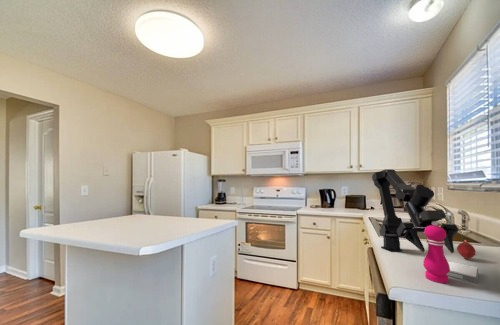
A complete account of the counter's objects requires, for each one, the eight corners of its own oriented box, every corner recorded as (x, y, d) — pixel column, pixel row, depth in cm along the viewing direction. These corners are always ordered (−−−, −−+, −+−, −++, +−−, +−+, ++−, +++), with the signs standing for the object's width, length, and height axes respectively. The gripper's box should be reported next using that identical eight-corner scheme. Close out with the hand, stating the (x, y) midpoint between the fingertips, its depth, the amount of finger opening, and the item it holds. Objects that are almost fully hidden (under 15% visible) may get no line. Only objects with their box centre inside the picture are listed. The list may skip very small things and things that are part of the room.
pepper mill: (444, 285, 75) (441, 224, 76) (419, 277, 82) (417, 220, 83) (454, 281, 79) (452, 221, 80) (430, 273, 85) (428, 218, 86)
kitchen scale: (435, 273, 85) (434, 267, 85) (439, 265, 93) (439, 259, 93) (476, 283, 77) (476, 276, 77) (478, 273, 85) (478, 267, 85)
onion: (479, 262, 96) (478, 242, 96) (463, 261, 97) (462, 241, 98) (469, 257, 102) (468, 238, 102) (454, 256, 103) (453, 238, 103)
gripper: (399, 200, 87) (418, 238, 75) (454, 201, 85) (482, 240, 73) (390, 218, 94) (406, 255, 83) (439, 219, 92) (463, 257, 80)
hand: (438, 252), depth 79 cm, fingers open, 9 cm apart
